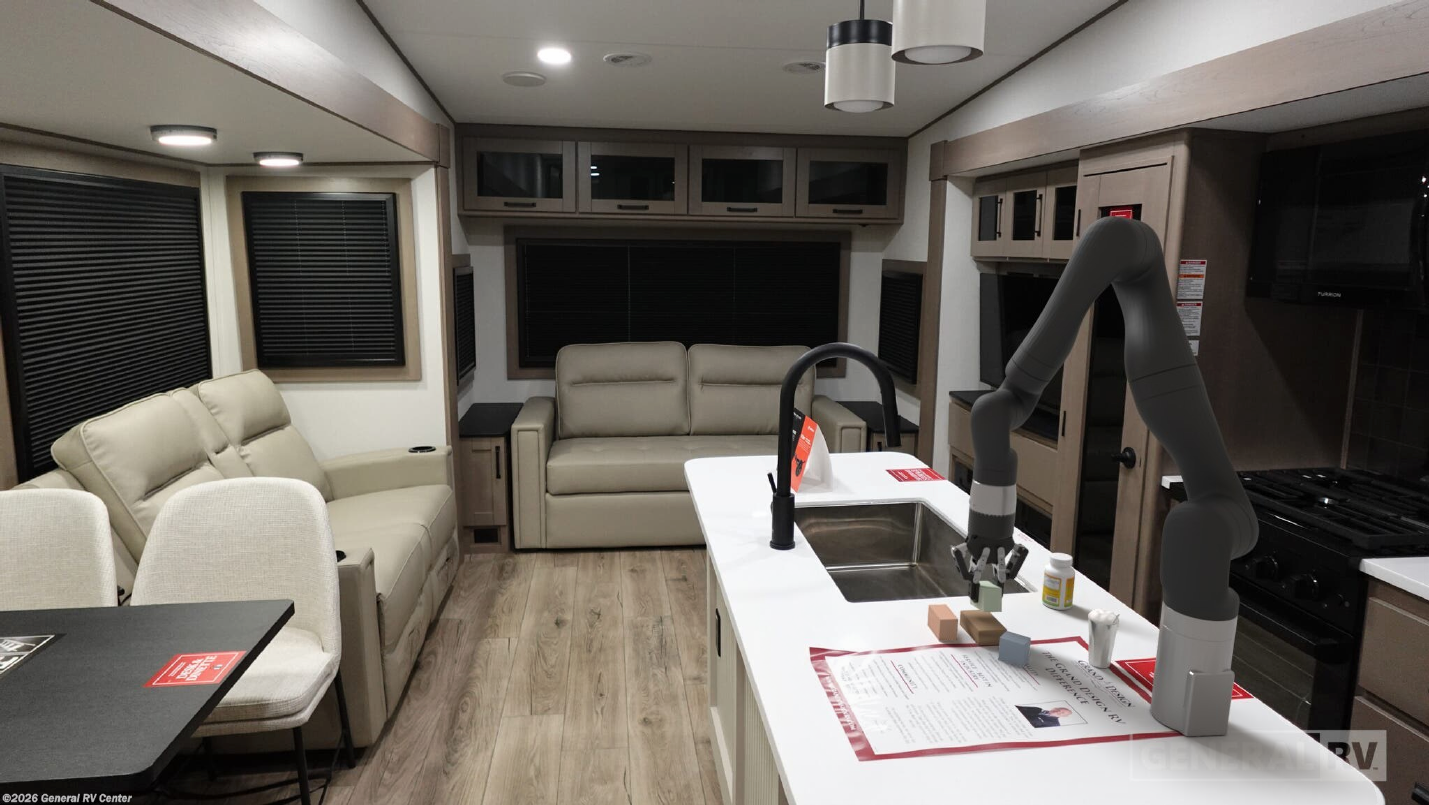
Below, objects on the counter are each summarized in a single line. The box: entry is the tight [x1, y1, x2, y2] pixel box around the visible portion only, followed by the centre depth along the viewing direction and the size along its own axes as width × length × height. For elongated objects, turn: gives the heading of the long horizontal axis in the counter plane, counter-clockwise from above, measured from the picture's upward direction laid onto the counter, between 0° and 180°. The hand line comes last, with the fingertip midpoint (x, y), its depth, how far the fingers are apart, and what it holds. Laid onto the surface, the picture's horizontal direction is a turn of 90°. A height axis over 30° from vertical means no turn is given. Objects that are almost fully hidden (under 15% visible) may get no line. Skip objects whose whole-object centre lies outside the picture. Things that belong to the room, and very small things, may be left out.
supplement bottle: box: [1041, 552, 1076, 611], centre depth 159 cm, size 5×5×10 cm
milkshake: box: [1087, 608, 1121, 669], centre depth 136 cm, size 4×5×10 cm
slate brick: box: [997, 630, 1032, 668], centre depth 138 cm, size 4×3×4 cm
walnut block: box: [959, 609, 1008, 646], centre depth 148 cm, size 8×5×3 cm, turn 6°
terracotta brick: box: [926, 604, 959, 642], centre depth 148 cm, size 6×3×4 cm, turn 5°
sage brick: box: [969, 580, 1003, 613], centre depth 146 cm, size 6×3×4 cm, turn 4°
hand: (984, 600), depth 147 cm, fingers closed on sage brick, 3 cm apart
